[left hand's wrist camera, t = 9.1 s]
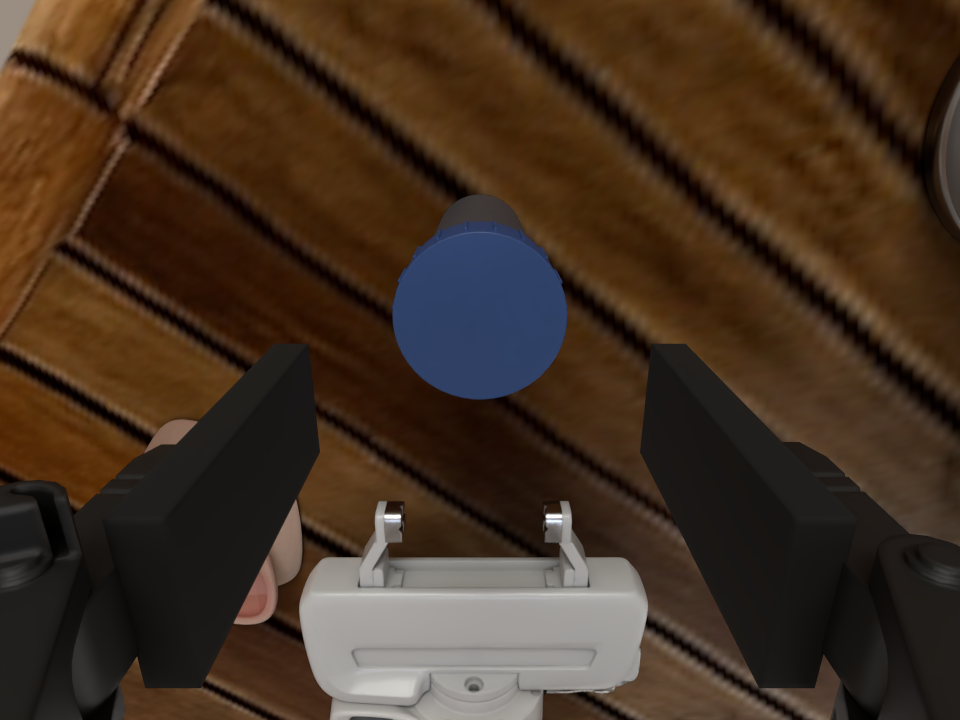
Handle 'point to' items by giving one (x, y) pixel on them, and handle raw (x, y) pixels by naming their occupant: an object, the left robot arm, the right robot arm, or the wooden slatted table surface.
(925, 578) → the left robot arm
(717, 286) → the wooden slatted table surface
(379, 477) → the wooden slatted table surface
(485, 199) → the grey bottle
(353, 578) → the right robot arm
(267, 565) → the anatomical model
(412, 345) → the lid
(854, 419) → the wooden slatted table surface
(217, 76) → the wooden slatted table surface
